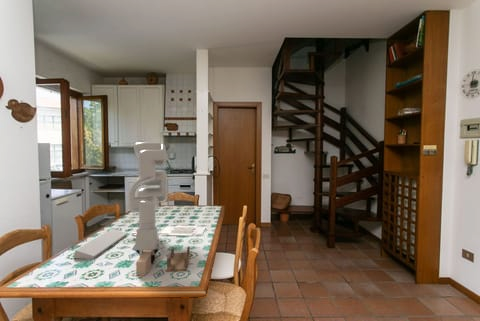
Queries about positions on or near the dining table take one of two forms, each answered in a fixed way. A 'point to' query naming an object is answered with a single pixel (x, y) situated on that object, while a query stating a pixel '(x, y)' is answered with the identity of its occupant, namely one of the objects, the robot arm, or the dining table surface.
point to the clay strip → (144, 262)
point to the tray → (183, 230)
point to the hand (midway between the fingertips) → (147, 262)
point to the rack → (178, 261)
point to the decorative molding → (99, 244)
